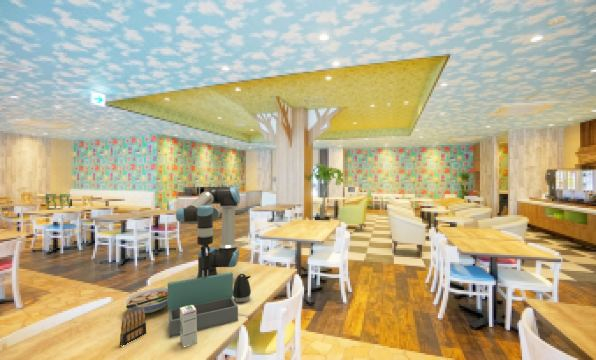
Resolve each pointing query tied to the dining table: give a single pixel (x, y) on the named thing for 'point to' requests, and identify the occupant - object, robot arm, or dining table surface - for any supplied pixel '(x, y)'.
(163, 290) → the ramen bowl
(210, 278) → the cover
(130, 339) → the ammunition clip
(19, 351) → the dining table surface
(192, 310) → the syrup box
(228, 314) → the gray open box
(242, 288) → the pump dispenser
